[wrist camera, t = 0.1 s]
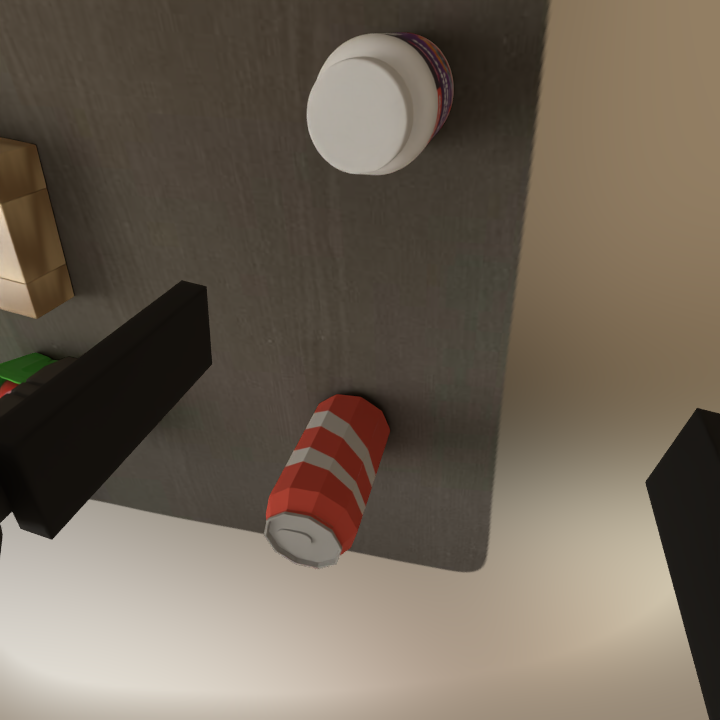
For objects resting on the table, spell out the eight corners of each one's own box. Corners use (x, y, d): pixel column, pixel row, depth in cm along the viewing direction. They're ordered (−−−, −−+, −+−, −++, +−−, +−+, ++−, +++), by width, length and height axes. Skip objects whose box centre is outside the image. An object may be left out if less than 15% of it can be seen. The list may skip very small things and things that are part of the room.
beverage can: (313, 386, 39) (246, 501, 30) (390, 394, 38) (346, 519, 28) (321, 442, 43) (263, 562, 33) (393, 452, 41) (354, 581, 32)
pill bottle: (465, 128, 26) (442, 172, 19) (373, 158, 29) (318, 208, 21) (440, 12, 24) (402, 7, 16) (341, 54, 26) (265, 68, 18)
